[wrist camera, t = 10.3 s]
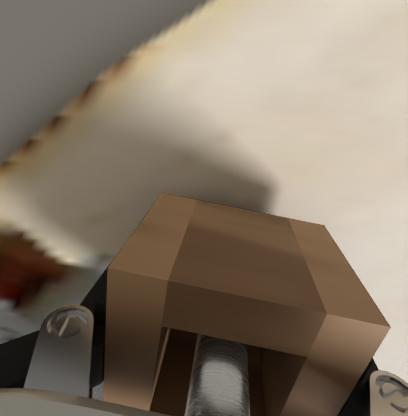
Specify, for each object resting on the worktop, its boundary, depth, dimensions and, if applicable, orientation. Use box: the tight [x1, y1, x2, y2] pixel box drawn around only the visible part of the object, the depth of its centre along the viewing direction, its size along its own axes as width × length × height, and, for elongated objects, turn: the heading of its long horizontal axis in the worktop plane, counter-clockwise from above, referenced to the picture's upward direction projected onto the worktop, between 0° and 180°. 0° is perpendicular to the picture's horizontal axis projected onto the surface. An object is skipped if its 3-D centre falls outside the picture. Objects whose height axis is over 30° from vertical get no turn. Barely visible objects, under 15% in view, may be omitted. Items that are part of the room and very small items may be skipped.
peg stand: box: [185, 334, 250, 416], centre depth 10 cm, size 4×4×9 cm
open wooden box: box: [103, 193, 391, 416], centre depth 10 cm, size 6×6×5 cm
